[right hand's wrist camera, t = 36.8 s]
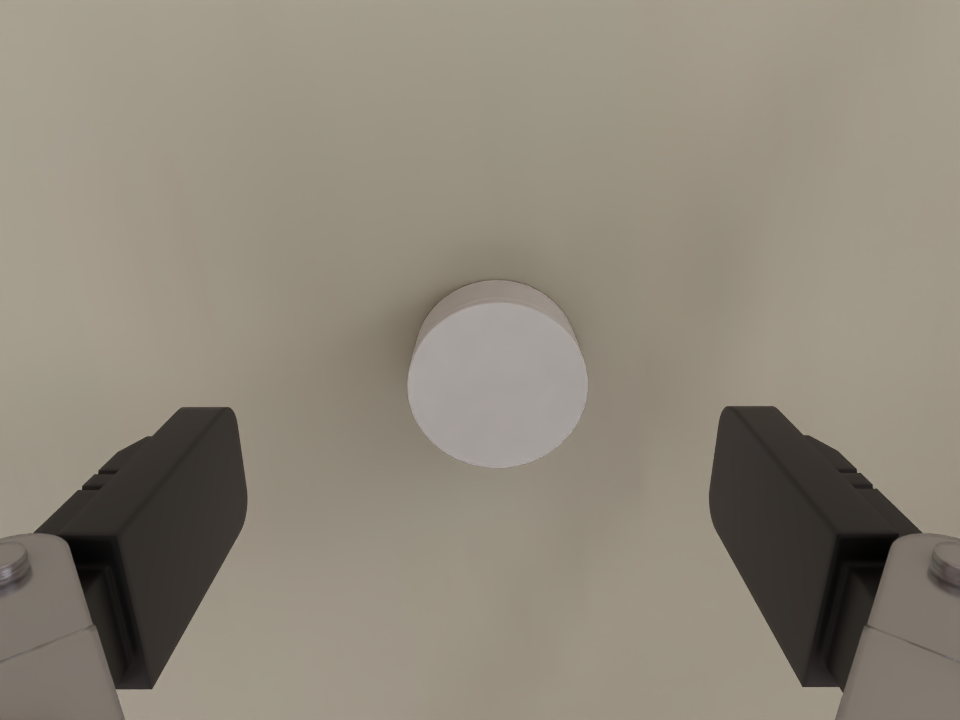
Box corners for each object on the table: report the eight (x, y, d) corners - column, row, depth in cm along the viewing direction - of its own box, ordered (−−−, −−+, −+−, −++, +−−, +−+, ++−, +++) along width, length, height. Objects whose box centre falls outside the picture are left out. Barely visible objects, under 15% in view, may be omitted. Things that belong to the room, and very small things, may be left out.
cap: (409, 421, 16) (400, 458, 14) (422, 269, 15) (414, 292, 13) (562, 437, 16) (571, 477, 14) (590, 289, 15) (604, 314, 13)
